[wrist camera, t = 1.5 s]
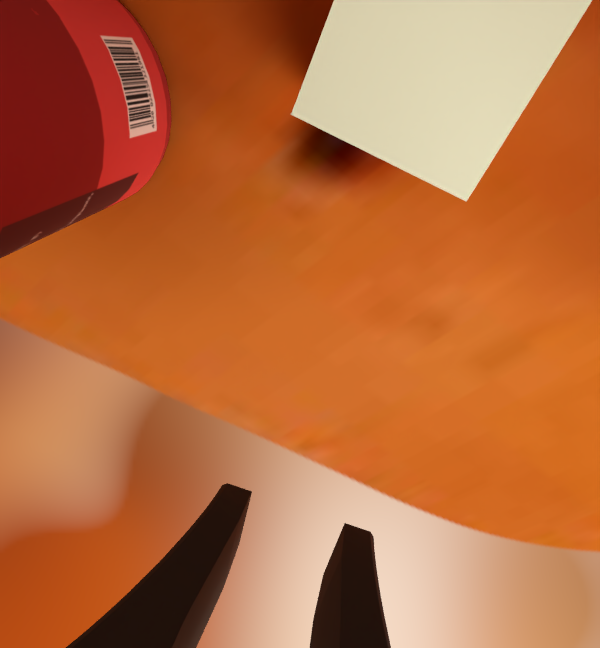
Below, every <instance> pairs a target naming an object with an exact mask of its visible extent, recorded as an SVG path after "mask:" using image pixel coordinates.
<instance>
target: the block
mask: <svg viewBox="0 0 600 648" xmlns="http://www.w3.org/2000/svg"><path fill="white" fill-rule="evenodd" d="M591 1H592V0H334V2H333V4H332V7H331V9H330V12H329V15H328V17H327V20H326V23H325V25H324V28H323V31H322V33H321V36H320V39H319V41H318V44H317V47H316V49H315V52H314V55H313V57H312V60H311V63H310V65H309V68H308V71H307V73H306V76H305V79H304V81H303V84H302V87H301V89H300V92H299V95H298V97H297V100H296V103H295V105H294V108H293V111H292V113H291V115H293V116H295V117H297V118H299V119H301V120H303V121H305V122H307V123H309V124H311V125H313V126H315V127H317V128H319V129H321V130H323V131H325V132H327V133H329V134H331V135H333V136H335V137H337V138H339V139H341V140H343V141H345V142H347V143H349V144H352V145H354V146H356V147H358V148H360V149H362V150H364V151H366V152H368V153H370V154H372V155H374V156H376V157H378V158H380V159H382V160H384V161H386V162H388V163H390V164H392V165H394V166H396V167H398V168H400V169H402V170H404V171H406V172H408V173H410V174H412V175H414V176H416V177H418V178H420V179H422V180H424V181H426V182H428V183H430V184H432V185H434V186H436V187H438V188H440V189H442V190H444V191H446V192H448V193H450V194H452V195H454V196H456V197H458V198H460V199H462V200H464V201H467V200H468V198H469V197H470V195H471V193H472V192H473V190H474V189H475V187H476V185H477V184H478V182H479V181H480V179H481V177H482V176H483V174H484V173H485V171H486V169H487V168H488V166H489V165H490V163H491V161H492V160H493V158H494V157H495V155H496V153H497V152H498V150H499V149H500V147H501V145H502V144H503V142H504V141H505V139H506V137H507V136H508V134H509V133H510V131H511V129H512V128H513V126H514V125H515V123H516V121H517V120H518V118H519V117H520V115H521V113H522V112H523V110H524V109H525V107H526V105H527V104H528V102H529V101H530V99H531V97H532V96H533V94H534V93H535V91H536V89H537V88H538V86H539V85H540V83H541V81H542V80H543V78H544V77H545V75H546V73H547V72H548V70H549V69H550V67H551V65H552V64H553V62H554V61H555V59H556V57H557V56H558V54H559V53H560V51H561V49H562V48H563V46H564V45H565V43H566V41H567V40H568V38H569V37H570V35H571V33H572V32H573V30H574V29H575V27H576V25H577V24H578V22H579V21H580V19H581V17H582V16H583V14H584V13H585V11H586V9H587V8H588V6H589V5H590V3H591Z"/></svg>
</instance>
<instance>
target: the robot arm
mask: <svg viewBox="0 0 600 648" xmlns="http://www.w3.org/2000/svg"><path fill="white" fill-rule="evenodd" d="M251 493H252V492H251V491H248V490H245V489H243V488H239V487H237V486H234V485H230V484H224V485H222V486H221V488H220V490H219V491H218V493H217V494H216V496H215V497H214V498H213V500H212V501H211V503H210V504H209V505H208V507H207V508H206V509H205V510H204V512H203V513H202V514H201V515H200V517H199V518H198V519H197V520H196V522H195V523H194V524H193V525H192V526H191V528H190V529H189V530H188V531H187V532H186V533H185V535H184V536H183V537H182V538H181V539H180V540H179V541H178V542H177V543H176V544H175V546H174V547H173V548H172V549H171V550H170V551H169V552H168V553H167V554H166V555H165V557H164V558H163V559H162V560H161V561H160V562H159V563H158V564H157V565H156V566H155V567H154V568H153V569H152V570H151V571H150V572H149V573H148V574H147V575H146V576H145V577H144V578H143V579H142V580H141V581H140V582H139V583H138V584H137V585H136V586H135V587H134V588H133V589H132V590H131V591H130V592H129V593H128V594H127V595H126V596H125V597H123V598H122V599H121V600H120V601H119V602H118V603H117V604H116V605H115V606H114V607H113V608H111V609H110V610H109V611H108V612H107V613H106V614H105V615H104V616H103V617H102V618H100V619H99V620H98V621H97V622H96V623H95V624H94V625H92V626H91V627H90V628H89V629H88V630H87V631H86V632H84V633H83V634H82V635H81V636H79V637H78V638H77V639H76V640H75V641H73V642H72V643H71V644H70V645H68V646H67V647H66V648H196V647H197V644H198V642H199V640H200V638H201V636H202V634H203V631H204V629H205V627H206V625H207V623H208V620H209V618H210V616H211V614H212V612H213V610H214V607H215V605H216V603H217V601H218V599H219V596H220V594H221V592H222V590H223V587H224V585H225V582H226V579H227V576H228V574H229V571H230V568H231V565H232V562H233V559H234V557H235V554H236V551H237V548H238V545H239V542H240V538H241V534H242V530H243V526H244V522H245V517H246V513H247V509H248V505H249V501H250V497H251ZM310 648H391V646H390V641H389V636H388V632H387V627H386V622H385V618H384V612H383V607H382V602H381V596H380V590H379V583H378V577H377V570H376V561H375V552H374V539H373V536H372V534H371V532H369V531H366V530H363V529H360V528H357V527H354V526H351V525H349V524H346V523H345V524H344V526H343V529H342V531H341V534H340V536H339V538H338V541H337V543H336V546H335V548H334V550H333V553H332V555H331V557H330V560H329V562H328V565H327V567H326V569H325V572H324V575H323V579H322V584H321V588H320V592H319V597H318V601H317V606H316V610H315V615H314V620H313V627H312V635H311V642H310Z"/></svg>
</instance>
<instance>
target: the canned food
mask: <svg viewBox="0 0 600 648" xmlns="http://www.w3.org/2000/svg"><path fill="white" fill-rule="evenodd" d="M170 128H171V102H170V95H169V90H168V85H167V81H166V76H165V74H164V71H163V68H162V65H161V63H160V60H159V57H158V55H157V53H156V51H155V49H154V47H153V45H152V43H151V42H150V40H149V38H148V36H147V34H146V32H145V31H144V30H143V29H142V27H141V26H140V25H139V23H138V22H137V21H136V19H135V18H134V17H133V15H132V14H131V13H130V12H129V11H128V10H127V9H126V8H125V7H124V6H123V5H122V4H121V3H120V2H119V1H118V0H0V258H2V257H4V256H6V255H8V254H10V253H12V252H14V251H16V250H18V249H21V248H23V247H25V246H27V245H29V244H31V243H33V242H35V241H37V240H40V239H42V238H44V237H46V236H48V235H50V234H52V233H54V232H57V231H59V230H61V229H63V228H65V227H67V226H69V225H71V224H73V223H76V222H78V221H80V220H82V219H84V218H86V217H88V216H90V215H92V214H95V213H97V212H99V211H101V210H103V209H105V208H107V207H109V206H111V205H114V204H116V203H118V202H120V201H122V200H124V199H126V198H128V197H129V196H131V195H133V194H135V193H136V192H138V191H139V190H140V189H141V188H142V187H143V186H144V185H145V184H146V183H147V182H148V181H149V180H150V178H151V177H152V175H153V173H154V172H155V170H156V168H157V167H158V165H159V163H160V162H161V160H162V158H163V156H164V153H165V150H166V147H167V144H168V141H169V136H170Z"/></svg>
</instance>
